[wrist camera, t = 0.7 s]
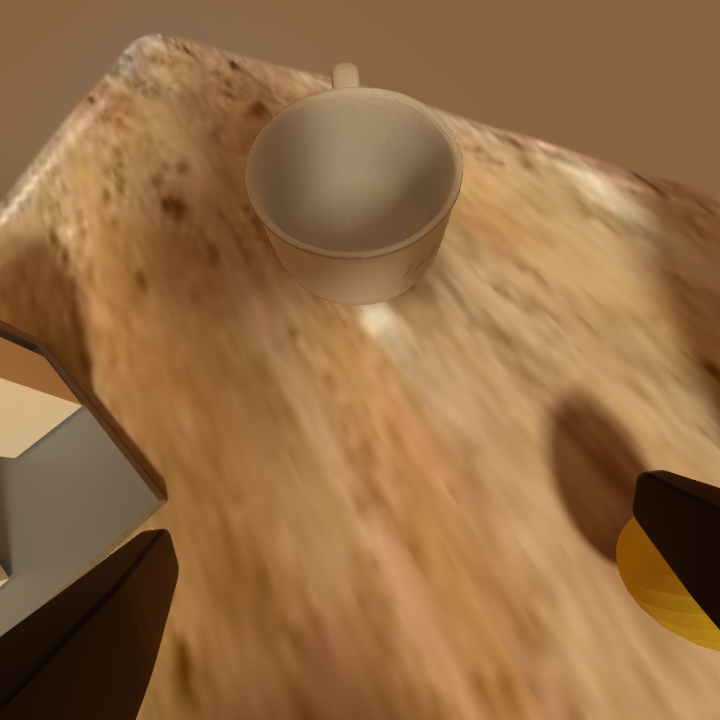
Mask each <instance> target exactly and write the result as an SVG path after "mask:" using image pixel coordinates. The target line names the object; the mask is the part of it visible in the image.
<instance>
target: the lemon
mask: <svg viewBox="0 0 720 720" xmlns="http://www.w3.org/2000/svg"><path fill="white" fill-rule="evenodd" d="M616 562H617V565H618V569H619V573H620V576H621V578H622V580H623V582H624V584H625V586H626V588H627V590H628V592H629V593H630V594H631V595H632V597H633V598H634V599H635V601H636V602H637V603H638V604H639V606H640V607H641V608H642V609H643V610H644V611H646V612H647V613H648V614H649V615H650V616H651V617H652V618H654V619H655V620H656V621H657V622H658V623H659V624H661V625H662V626H664V627H665V628H667V629H668V630H670V631H672V632H674V633H676V634H677V635H679V636H681V637H683V638H685V639H687V640H688V641H690V642H693V643H695V644H697V645H700V646H703V647H706V648H710V649H713V650H717V651H720V630H719V629H718V628H717V627H716V625H715V624H714V623H713V622H712V621H711V619H710V618H709V617H708V616H707V615H706V614H705V612H704V611H703V610H702V609H701V608H700V606H699V605H698V604H697V603H696V601H695V600H694V599H693V598H692V596H691V595H690V594H689V592H688V591H687V590H686V588H685V587H684V586H683V585H682V583H681V582H680V580H679V579H678V578H677V576H676V575H675V574H674V572H673V571H672V569H671V568H670V567H669V565H668V564H667V562H666V561H665V560H664V558H663V557H662V556H661V554H660V553H659V551H658V550H657V549H656V547H655V546H654V545H653V543H652V542H651V540H650V539H649V538H648V536H647V535H646V534H645V532H644V531H643V529H642V528H641V527H640V525H639V524H638V522H637V521H636V519H635V517H632V518H631V519H630V520H629V521H628V522H627V523H626V524H625V525H624V527H623V529H622V531H621V533H620V535H619V537H618V541H617V546H616Z"/></svg>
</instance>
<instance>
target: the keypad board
mask: <svg viewBox="0 0 720 720" xmlns="http://www.w3.org/2000/svg"><path fill="white" fill-rule="evenodd" d="M0 337H1V338H4V339H6V340H8V341H10V342H12V343H15V344H17V345H19V346H21V347H23V348H26V349H28V350H30V351H32V352H34V353H37V354H39V355H41V356H43V357H45V358H46V359H47V361H48V362H49V363H50V365H51V366H52V367H53V368H54V370H55V371H56V372H57V374H58V375H59V376H60V377H61V379H62V380H63V381H64V383H65V384H66V385H67V386H68V388H69V389H70V390H71V392H72V393H73V394H74V395H75V397H76V398H77V399H78V401H79V402H80V403H81V404H82V406H81V407H80V408H79V409H78V410H76V411H75V412H74V413H72V414H71V415H70V416H69V417H67V418H66V419H65V420H64V421H62V422H61V423H60V424H58V425H57V426H56V427H55V428H53V429H52V430H51V431H49V432H48V433H47V434H46V435H44V436H43V437H42V438H40V439H39V440H38V441H37V442H35V443H34V444H33V445H31V446H30V447H29V448H28V449H26V450H25V451H24V452H22V453H21V454H20V455H19V456H17V457H16V458H10V457H1V456H0V565H1V566H2V568H3V569H4V571H5V573H6V574H7V576H8V577H9V579H8V580H7V581H6V582H5V583H4V584H3V585H1V586H0V636H1V635H3V634H4V633H5V632H7V631H8V630H10V629H11V628H12V627H14V626H15V625H16V624H18V623H19V622H20V621H22V620H23V619H24V618H26V617H27V616H29V615H30V614H31V613H33V612H34V611H35V610H37V609H38V608H39V607H41V606H42V605H43V604H45V603H46V602H48V601H49V600H50V599H52V598H53V597H54V596H56V595H57V594H58V593H60V592H61V591H62V590H64V589H65V588H67V587H68V586H69V585H71V584H72V583H73V582H75V581H76V580H77V579H79V578H80V577H81V576H83V575H84V574H86V573H87V572H88V571H90V570H91V569H92V568H93V567H95V566H96V565H97V564H98V563H99V562H100V561H101V560H102V559H103V558H105V557H106V556H107V555H108V554H109V553H110V552H111V551H112V550H113V549H114V548H116V547H117V546H118V545H119V544H120V543H121V542H122V541H123V540H124V539H126V538H127V537H128V536H129V535H130V534H131V533H132V532H133V531H134V530H136V529H137V528H138V527H139V526H140V525H141V524H142V523H143V522H144V521H146V520H147V519H148V518H149V517H150V516H151V515H152V514H153V513H154V512H155V511H157V510H158V509H159V508H160V507H161V506H162V505H163V504H164V503H165V502H167V501H168V500H167V499H166V498H165V496H164V495H163V494H162V493H161V491H160V490H159V489H158V487H157V486H156V485H155V484H154V482H153V481H152V480H151V479H150V477H149V476H148V475H147V474H146V472H145V471H144V470H143V468H142V467H141V466H140V465H139V463H138V462H137V461H136V460H135V458H134V457H133V456H132V454H131V453H130V452H129V451H128V449H127V448H126V447H125V446H124V444H123V443H122V442H121V440H120V439H119V438H118V437H117V435H116V434H115V433H114V432H113V430H112V429H111V428H110V426H109V425H108V424H107V423H106V421H105V420H104V419H103V418H102V416H101V415H100V414H99V412H98V411H97V410H96V409H95V407H94V406H93V405H92V404H91V402H90V401H89V400H88V399H87V397H86V396H85V395H84V393H83V392H82V391H81V390H80V388H79V387H78V386H77V385H76V383H75V382H74V381H73V379H72V378H71V377H70V376H69V374H68V373H67V372H66V371H65V369H64V368H63V367H62V365H61V364H60V363H59V362H58V360H57V359H56V358H55V357H54V355H53V354H52V353H51V351H50V350H49V349H48V348H47V346H46V345H45V344H44V343H43V341H41V340H39V339H37V338H35V337H33V336H31V335H29V334H27V333H25V332H23V331H21V330H19V329H17V328H15V327H13V326H11V325H9V324H7V323H5V322H3V321H1V320H0Z"/></svg>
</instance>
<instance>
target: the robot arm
mask: <svg viewBox="0 0 720 720" xmlns="http://www.w3.org/2000/svg"><path fill="white" fill-rule="evenodd" d="M632 510H633V514H634V517H635V519H636V521H637V522H638V524H639V525H640V527H641V528H642V529H643V531H644V532H645V534H646V535H647V536H648V538H649V539H650V540H651V542H652V543H653V545H654V546H655V547H656V549H657V550H658V551H659V553H660V554H661V556H662V557H663V558H664V560H665V561H666V562H667V564H668V565H669V567H670V568H671V569H672V571H673V572H674V574H675V575H676V576H677V578H678V579H679V580H680V582H681V583H682V585H683V586H684V587H685V588H686V590H687V591H688V592H689V594H690V595H691V596H692V598H693V599H694V600H695V601H696V603H697V604H698V605H699V606H700V608H701V609H702V610H703V611H704V612H705V614H706V615H707V616H708V617H709V618H710V619H711V621H712V622H713V623H714V624H715V625H716V627H717V628H718V629H719V630H720V488H718V487H715V486H712V485H709V484H706V483H702V482H699V481H696V480H693V479H690V478H687V477H684V476H681V475H677V474H674V473H671V472H668V471H664V470H655V471H646V472H642V473H640V474H639V475H638V477H637V480H636V486H635V492H634V499H633V505H632ZM178 572H179V567H178V561H177V557H176V554H175V550H174V546H173V543H172V539H171V536H170V533H169V532H168V530H166V529H157V530H148V531H144V532H141V533H140V534H138V535H137V536H136V537H134V538H133V539H132V540H130V541H129V542H128V543H126V544H125V545H123V546H122V547H121V548H119V549H118V550H117V551H115V552H114V553H113V554H111V555H110V556H109V557H107V558H106V559H105V560H103V561H102V562H100V563H99V564H98V565H96V566H95V567H94V568H92V569H91V570H90V571H88V572H87V573H86V574H84V575H83V576H81V577H80V578H79V579H77V580H76V581H75V582H73V583H72V584H71V585H69V586H68V587H67V588H65V589H64V590H62V591H61V592H60V593H58V594H57V595H56V596H54V597H53V598H52V599H50V600H49V601H48V602H46V603H45V604H43V605H42V606H41V607H39V608H38V609H37V610H35V611H34V612H33V613H31V614H30V615H29V616H27V617H26V618H24V619H23V620H22V621H20V622H19V623H18V624H16V625H15V626H14V627H12V628H11V629H10V630H8V631H7V632H5V633H4V634H3V635H1V636H0V720H136V717H137V715H138V712H139V709H140V706H141V704H142V701H143V698H144V695H145V693H146V690H147V687H148V684H149V681H150V678H151V675H152V672H153V669H154V665H155V662H156V659H157V655H158V651H159V647H160V644H161V640H162V636H163V632H164V628H165V625H166V621H167V617H168V613H169V610H170V606H171V602H172V598H173V594H174V591H175V587H176V583H177V579H178Z"/></svg>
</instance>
